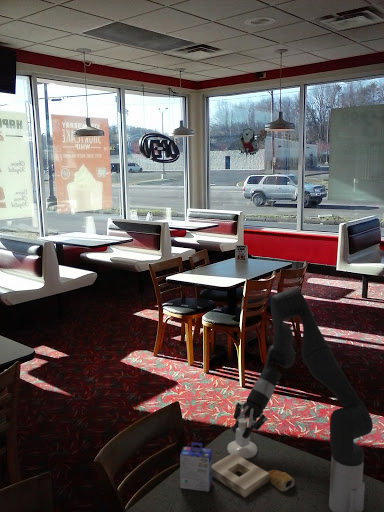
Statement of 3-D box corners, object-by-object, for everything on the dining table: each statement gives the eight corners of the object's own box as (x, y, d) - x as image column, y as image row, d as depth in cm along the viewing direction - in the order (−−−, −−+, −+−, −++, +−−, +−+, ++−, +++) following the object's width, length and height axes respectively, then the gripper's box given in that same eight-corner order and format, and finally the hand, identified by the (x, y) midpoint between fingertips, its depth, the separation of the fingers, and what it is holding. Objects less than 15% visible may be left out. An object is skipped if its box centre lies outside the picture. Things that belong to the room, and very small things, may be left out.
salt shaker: (242, 448, 180) (242, 424, 178) (234, 443, 183) (235, 420, 181) (250, 444, 182) (250, 421, 180) (243, 439, 185) (243, 416, 183)
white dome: (263, 450, 182) (263, 448, 182) (243, 462, 175) (243, 460, 175) (241, 438, 190) (241, 436, 190) (221, 449, 183) (221, 447, 183)
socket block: (268, 481, 165) (268, 473, 164) (244, 497, 157) (244, 489, 156) (233, 460, 177) (233, 452, 176) (209, 474, 169) (209, 466, 168)
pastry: (262, 479, 166) (262, 469, 166) (276, 471, 170) (276, 461, 170) (282, 494, 159) (283, 483, 158) (296, 485, 163) (297, 475, 162)
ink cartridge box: (212, 481, 165) (212, 442, 162) (209, 492, 160) (209, 451, 157) (183, 478, 167) (183, 439, 164) (179, 488, 162) (179, 448, 159)
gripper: (242, 383, 189) (220, 423, 183) (271, 395, 178) (249, 439, 173) (251, 391, 193) (229, 431, 188) (280, 404, 183) (258, 447, 177)
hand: (239, 434), depth 180 cm, fingers closed on salt shaker, 4 cm apart
